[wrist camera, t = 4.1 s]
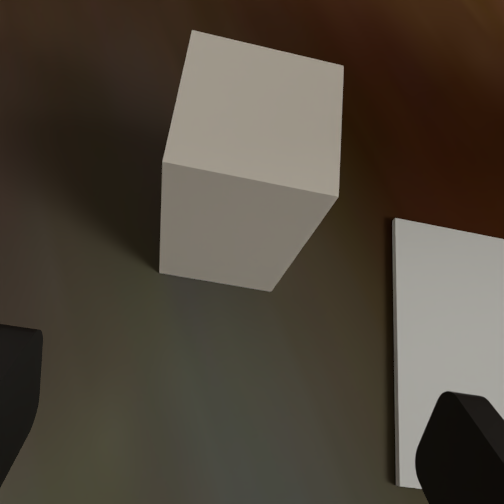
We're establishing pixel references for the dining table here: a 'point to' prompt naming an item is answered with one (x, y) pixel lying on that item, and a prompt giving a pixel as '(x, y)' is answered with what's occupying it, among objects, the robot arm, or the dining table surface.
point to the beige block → (248, 161)
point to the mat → (443, 327)
